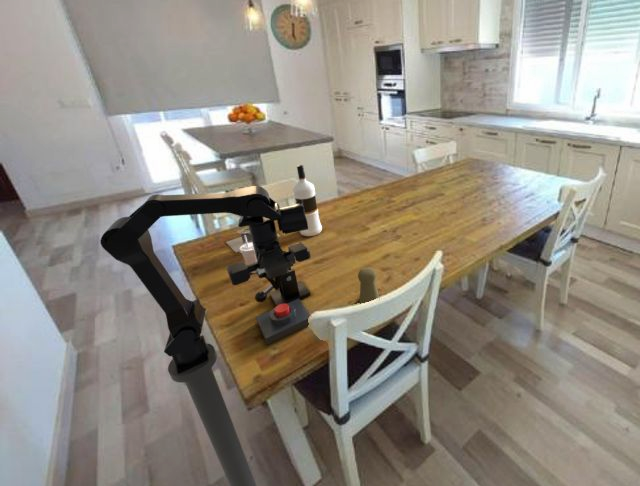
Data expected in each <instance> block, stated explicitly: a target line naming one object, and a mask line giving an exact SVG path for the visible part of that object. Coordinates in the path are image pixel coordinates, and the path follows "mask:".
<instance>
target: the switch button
mask: <svg viewBox="0 0 640 486" xmlns="http://www.w3.org/2000/svg"><path fill="white" fill-rule="evenodd" d="M274 308H275V314H276V316H277V317H284V316H286V315H288V314H289V312H290V310H289V306H288V304H280V305H278V306H275V307H274Z"/></svg>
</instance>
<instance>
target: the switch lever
mask: <svg viewBox="0 0 640 486" xmlns="http://www.w3.org/2000/svg"><path fill="white" fill-rule="evenodd" d="M273 290H275V289H274V287H273V286H272V285H271V284H270V285H269V286H268V287H267V288H265V289H264V290H260V291H257V292H256V293H255V295H254V300H255V301H256V302H257V303H264V302H265V301H267V298H268V294H269V293H270V292H272V291H273Z"/></svg>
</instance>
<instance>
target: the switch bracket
mask: <svg viewBox="0 0 640 486" xmlns="http://www.w3.org/2000/svg"><path fill="white" fill-rule="evenodd" d="M288 270H289V271H288V273H286V274H282V277H281V282H280V286H279V289H278V290H275V289H274V290H272V291H270V292H269V293H268V294H269V296H270V298H271V300H272V302H273V304H274V306H275V307H276V306H278V305H280V304H287V303H290V302H292V301H294V300H297V299H300V301H302V300H303V299H305V298H307V297H310V296H311V291H310V290H309V289H308V288H307V286H306V285H305V283H304V282H303V281H302V280H297V274H296V270H295V268H292V267H289V268H288Z"/></svg>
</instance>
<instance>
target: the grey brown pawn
mask: <svg viewBox="0 0 640 486" xmlns="http://www.w3.org/2000/svg"><path fill="white" fill-rule="evenodd" d="M357 278H358V281H359V283H360V285H359V286H360V287H359V305H360V304H361V303H365V302H369V301H371V300H374V299H376V298H378V297H379V298H380V296H379V295H380V294H379V291H378V288H377V284H376V278H377V272H376V270H375V269H374V268H373V267H369V266H368V267H363V268H361V269H359V271H358V272H357Z"/></svg>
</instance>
